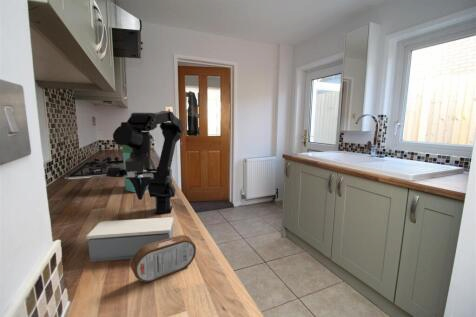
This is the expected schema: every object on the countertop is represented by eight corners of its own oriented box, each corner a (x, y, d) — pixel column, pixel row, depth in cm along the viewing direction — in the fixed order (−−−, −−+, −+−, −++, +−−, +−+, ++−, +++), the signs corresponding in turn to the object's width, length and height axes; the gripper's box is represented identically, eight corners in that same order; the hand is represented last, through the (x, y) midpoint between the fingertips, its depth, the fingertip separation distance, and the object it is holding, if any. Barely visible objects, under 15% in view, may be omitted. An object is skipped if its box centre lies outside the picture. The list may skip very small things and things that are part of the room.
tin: (192, 259, 62) (192, 229, 60) (198, 265, 59) (197, 234, 58) (131, 282, 53) (129, 248, 52) (135, 290, 50) (132, 254, 49)
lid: (100, 224, 67) (100, 221, 67) (173, 219, 71) (173, 217, 71) (86, 238, 59) (86, 235, 59) (170, 232, 62) (169, 230, 62)
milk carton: (136, 192, 115) (132, 142, 111) (125, 189, 120) (121, 141, 116) (151, 188, 123) (148, 141, 119) (140, 185, 128) (137, 140, 123)
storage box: (103, 244, 68) (101, 225, 67) (173, 238, 72) (172, 220, 71) (90, 261, 60) (87, 240, 59) (170, 254, 63) (169, 234, 62)
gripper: (98, 146, 65) (96, 202, 64) (167, 146, 68) (166, 199, 67) (113, 152, 76) (112, 200, 75) (172, 151, 79) (171, 198, 77)
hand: (140, 199), depth 73 cm, fingers closed
